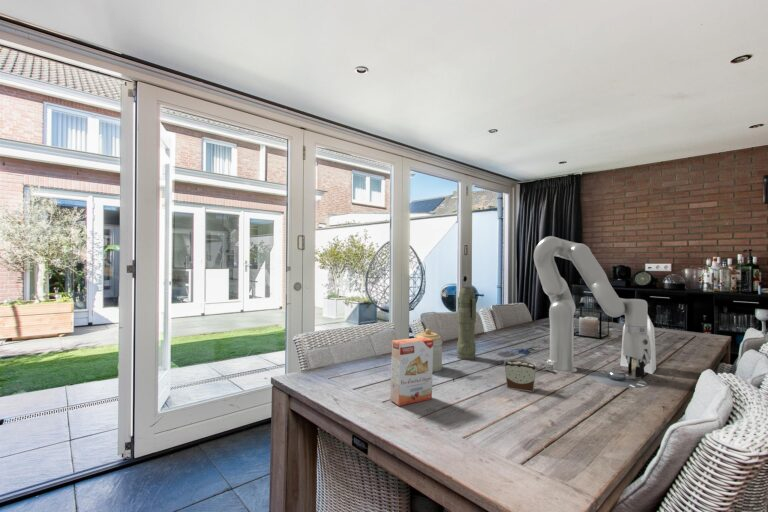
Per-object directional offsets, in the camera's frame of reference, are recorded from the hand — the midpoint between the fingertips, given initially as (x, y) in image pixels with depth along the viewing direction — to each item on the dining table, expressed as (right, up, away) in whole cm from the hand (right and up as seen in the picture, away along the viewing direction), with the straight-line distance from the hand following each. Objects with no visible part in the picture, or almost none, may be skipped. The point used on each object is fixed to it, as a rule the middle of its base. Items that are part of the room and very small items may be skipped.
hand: (636, 374), depth 149 cm
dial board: (-8, -3, 0) cm, 9 cm away
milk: (+14, -4, +20) cm, 25 cm away
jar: (-83, -2, +16) cm, 84 cm away
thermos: (-61, -3, +35) cm, 70 cm away
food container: (-50, -3, -8) cm, 50 cm away
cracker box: (-92, -2, -22) cm, 95 cm away
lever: (-5, -1, 0) cm, 5 cm away
